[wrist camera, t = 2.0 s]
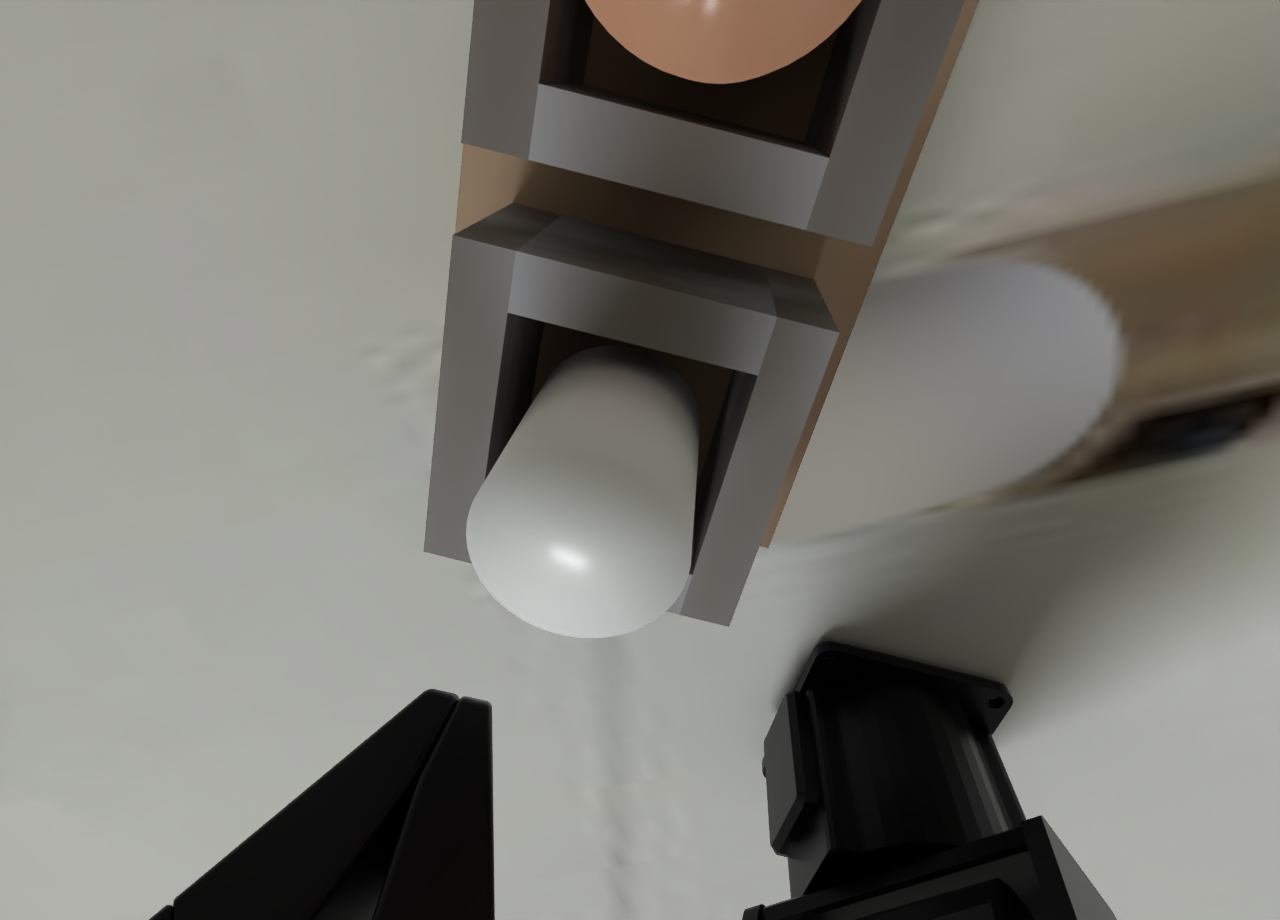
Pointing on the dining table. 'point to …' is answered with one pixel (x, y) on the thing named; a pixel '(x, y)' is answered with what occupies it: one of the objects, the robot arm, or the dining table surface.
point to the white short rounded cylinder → (593, 498)
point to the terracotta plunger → (721, 33)
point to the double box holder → (675, 244)
